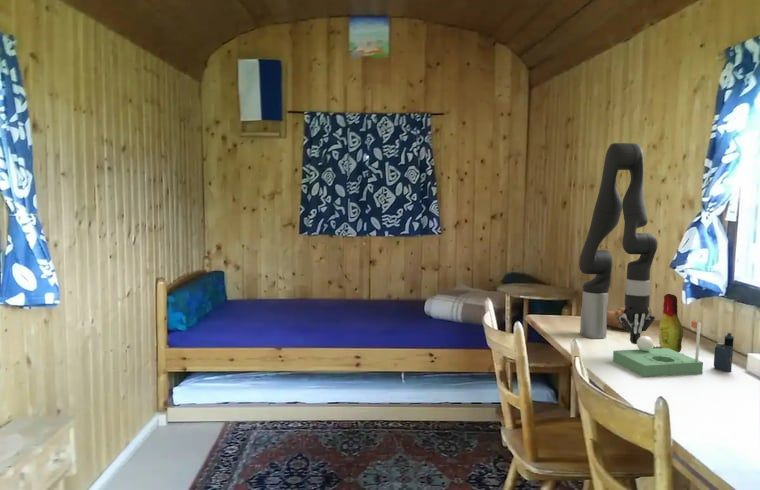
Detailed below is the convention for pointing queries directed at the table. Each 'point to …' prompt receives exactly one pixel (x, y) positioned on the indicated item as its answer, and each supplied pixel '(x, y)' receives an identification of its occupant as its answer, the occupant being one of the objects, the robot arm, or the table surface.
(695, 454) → the table surface
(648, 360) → the green
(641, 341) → the ball
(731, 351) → the vaping device
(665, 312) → the bottle
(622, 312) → the bag of nuts
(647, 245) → the robot arm
